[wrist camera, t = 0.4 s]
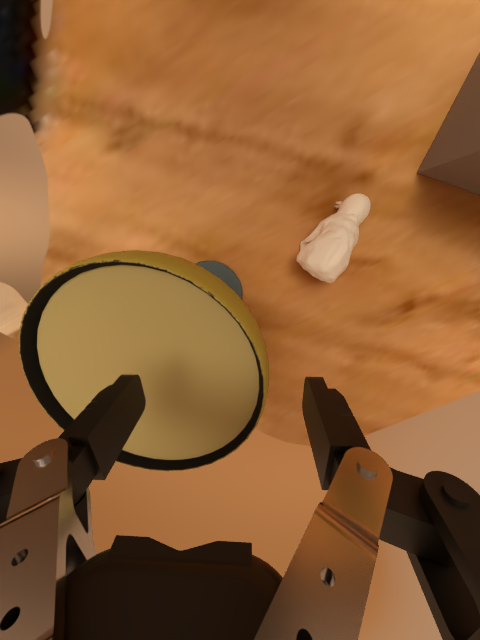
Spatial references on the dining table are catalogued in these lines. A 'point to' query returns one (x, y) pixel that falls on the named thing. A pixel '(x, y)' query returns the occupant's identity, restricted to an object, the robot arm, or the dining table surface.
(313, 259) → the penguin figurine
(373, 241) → the dining table surface
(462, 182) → the shelf
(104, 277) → the cocktail glass
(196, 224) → the dining table surface
